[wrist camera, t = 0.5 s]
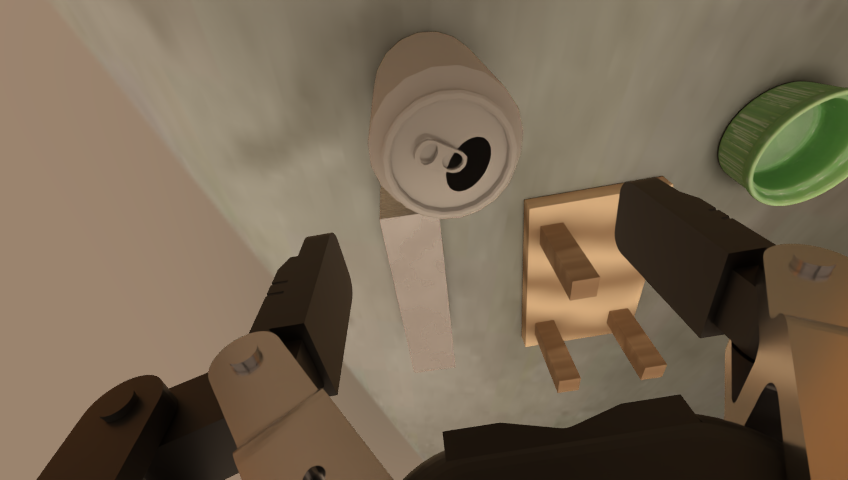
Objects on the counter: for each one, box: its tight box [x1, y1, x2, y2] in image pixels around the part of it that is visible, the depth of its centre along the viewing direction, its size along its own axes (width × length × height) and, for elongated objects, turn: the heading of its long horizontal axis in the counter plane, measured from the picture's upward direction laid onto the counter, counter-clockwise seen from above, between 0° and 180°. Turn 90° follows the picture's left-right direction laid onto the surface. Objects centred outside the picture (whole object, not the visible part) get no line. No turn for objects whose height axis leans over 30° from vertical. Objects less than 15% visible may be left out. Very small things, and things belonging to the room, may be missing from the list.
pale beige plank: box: [380, 186, 455, 373], centre depth 33 cm, size 18×4×6 cm, turn 7°
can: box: [368, 31, 523, 219], centre depth 21 cm, size 8×8×12 cm
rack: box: [522, 176, 673, 393], centre depth 34 cm, size 19×12×8 cm, turn 9°
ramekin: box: [718, 81, 848, 206], centre depth 28 cm, size 9×9×4 cm
